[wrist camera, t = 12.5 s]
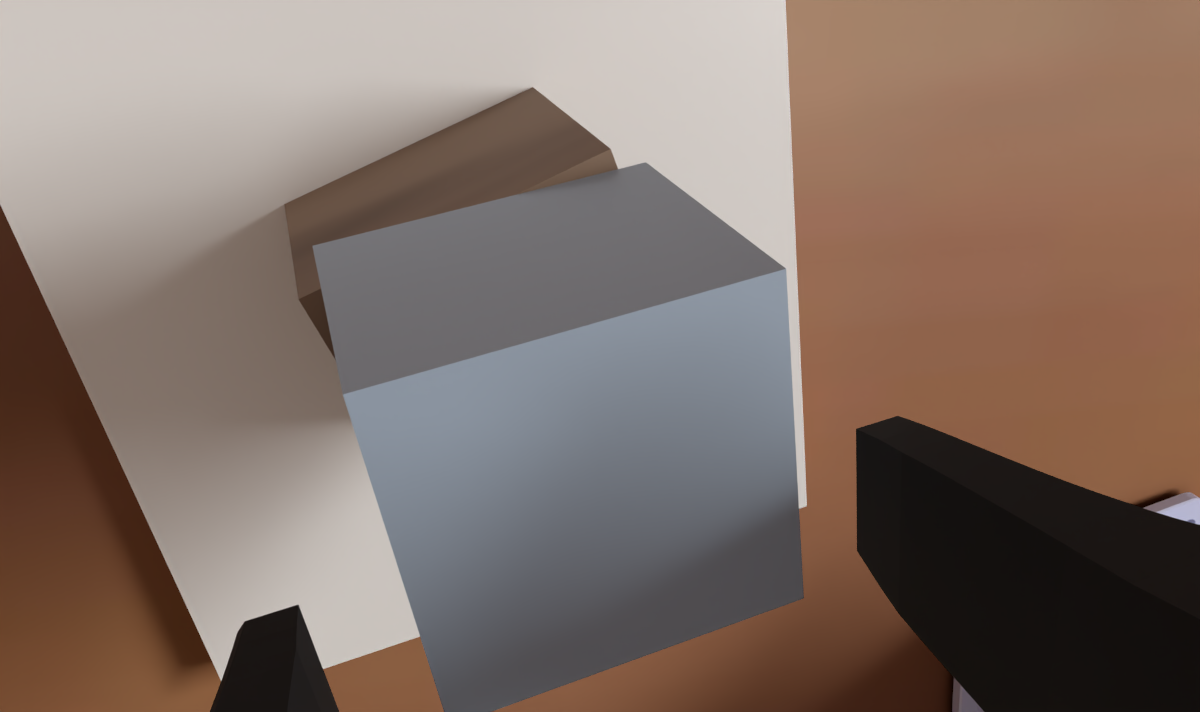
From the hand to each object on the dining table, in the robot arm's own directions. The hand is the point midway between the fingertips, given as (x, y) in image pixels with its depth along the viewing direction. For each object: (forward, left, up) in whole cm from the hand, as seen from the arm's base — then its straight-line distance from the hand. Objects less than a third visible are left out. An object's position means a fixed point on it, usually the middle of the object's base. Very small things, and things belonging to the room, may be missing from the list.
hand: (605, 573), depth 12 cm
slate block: (+2, 0, -3) cm, 3 cm away
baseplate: (+2, 0, -8) cm, 8 cm away
